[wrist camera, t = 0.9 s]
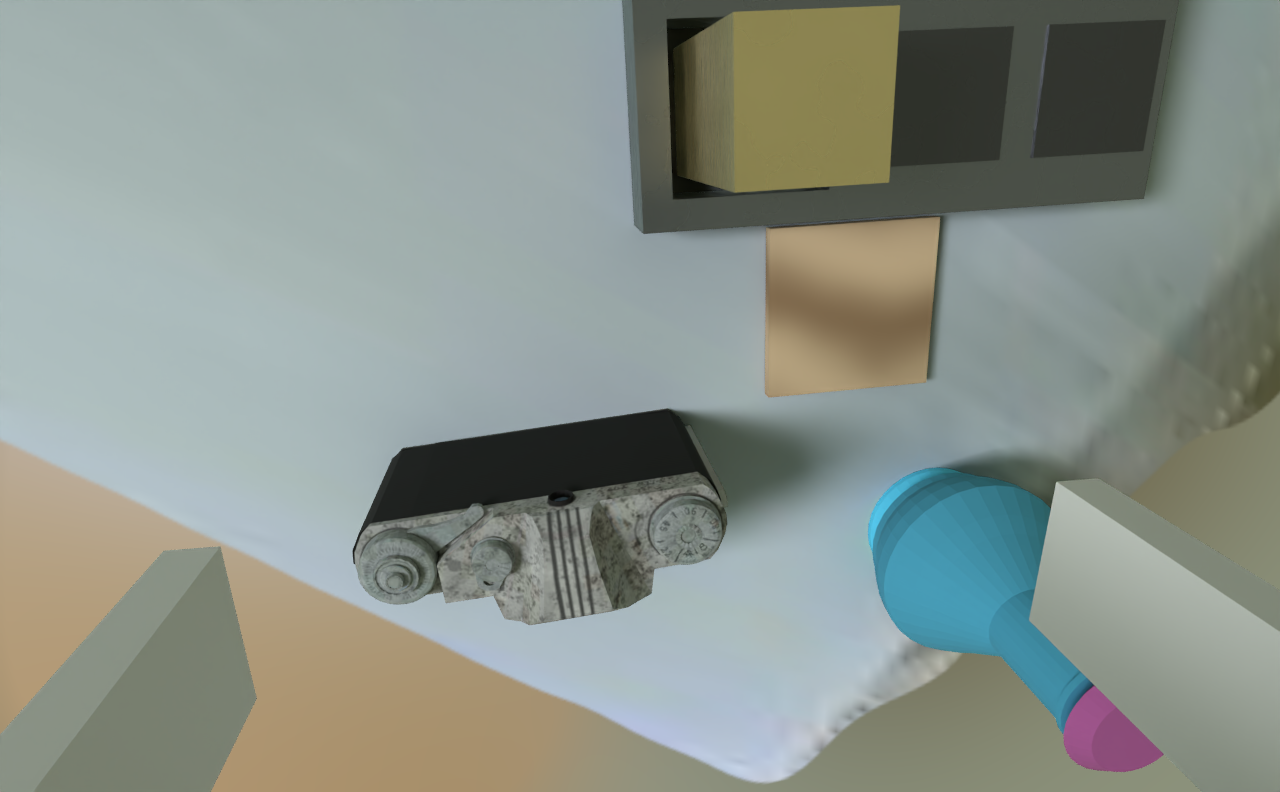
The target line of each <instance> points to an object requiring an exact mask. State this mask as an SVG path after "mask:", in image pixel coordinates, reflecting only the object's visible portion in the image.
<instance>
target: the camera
mask: <svg viewBox="0 0 1280 792" xmlns="http://www.w3.org/2000/svg"><path fill="white" fill-rule="evenodd" d="M724 507H728V503H727V496H726V494H725V491H724V488H723V486H722V484H721V483H720V481H719V479H718V477H717V475H716V473H715V471H714V469H713V467H712V466H711V464H710V462H709V460H708V458H707V456H706V454H705V452H704V450H703V448H702V447H701V445H700V443H699V441H698V439H697V437H696V435H695V433H694V431H693V430H692V428H691V426H690V425H688V426H685V425H684V424H683V422H682V421H681V419H680V418H679V416H677V415H675V414H674V413H673V412H672V411H670V410H669V409H660V410H653V411H647V412H640V413H633V414H627V415H620V416H613V417H606V418H600V419H593V420H586V421H580V422H573V423H566V424H560V425H553V426H546V427H539V428H533V429H526V430H519V431H513V432H506V433H500V434H493V435H487V436H481V437H475V438H468V439H462V440H455V441H449V442H442V443H435V444H427V445H420V446H413V447H406V448H402V449H401V451H400V452H399V453H398V454H397V455H396V456H395V457H394V458H392V461H391V463H390V465H389V467H388V470H387V472H386V474H385V476H384V479H383V481H382V483H381V485H380V488H379V490H378V492H377V494H376V497H375V499H374V501H373V503H372V506H371V508H370V510H369V512H368V515H367V517H366V519H365V521H364V523H363V526H362V528H361V530H360V532H359V535H358V538H357V540H356V543H355V546H354V548H353V562H354V564H355V565H356V569H357V572H358V578H359V580H360V583H361V585H362V586H363V588H364V589H365V591H366V592H368V593H369V594H370V595H371V596H372V597H374V598H375V599H377V600H379V601H382V602H385V603H389V604H407V603H411V602H414V601H416V600H419V599H421V598H422V597H423V596H425V595H427V594H433V593H440V592H443V594H444V598H445V602H446V603H451V602H457V601H464V600H470V599H477V598H484V597H489V596H494V598H495V600H496V602H497V604H498V606H499V608H500V610H501V612H502V614H503V616H504V618H505V619H508V620H515V621H522V622H524V623H526V624H528V625H534V624H540V623H547V622H552V621H558V620H564V619H570V618H575V617H581V616H587V615H593V614H599V613H604V612H610V611H615V610H618V609H622V608H626V607H629V606H631V605H632V604H634V603H636V602H637V601H639V600H641V599H643V598H644V597H646V596H648V595H649V594H651V593H652V585H653V576H654V569H656V568H661V567H667V566H672V565H678V564H680V565H689V564H695V563H698V562H700V561H703V560H706V559H710V558H711V557H712V556H713V555H714V553H715V552H716V551H717V550H718V548H719V546H720V544H721V542H722V539H723V537H724V535H725V531H726V526H727V516H726V512H725V510H724Z"/></svg>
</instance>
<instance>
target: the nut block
mask: <svg viewBox="0 0 1280 792" xmlns="http://www.w3.org/2000/svg"><path fill="white" fill-rule="evenodd" d="M899 16H900V5H896V6H870V7H844V8H818V9H792V10H766V11H741V12H732V13H731V14H729V15H727V16H726V17H724V18H722V19H721V20H719V21H718V22H716V23H714V24H713V25H711V26H710V27H708V28H706V29H705V30H703V31H701V32H700V33H698V34H697V35H695V36H693V37H692V38H690V39H689V40H687V41H685V42H684V43H682V44H680V45H679V46H677V47H676V48H674V49H673V65H674V96H675V126H676V157H677V175H678V176H681V177H685V178H688V179H691V180H694V181H698V182H701V183H704V184H708V185H711V186H714V187H718V188H721V189H724V190H728V191H731V192H734V193H737V192H752V191H767V190H783V189H798V188H813V187H829V186H844V185H859V184H875V183H889V176H890V160H891V144H892V128H893V112H894V96H895V80H896V64H897V48H898V32H899Z"/></svg>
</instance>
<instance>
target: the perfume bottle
mask: <svg viewBox="0 0 1280 792" xmlns="http://www.w3.org/2000/svg"><path fill="white" fill-rule="evenodd" d="M1050 511H1051V508H1050V507H1049V506H1048V505H1047V504H1046V503H1045V502H1044V501H1043V500H1042V499H1040V498H1038V497H1036V496H1035V495H1033V494H1031V493H1030V492H1028V491H1026V490H1024V489H1022V488H1021V487H1019V486H1017V485H1015V484H1012V483H1008V482H1005V481H1002V480H998V479H994V478H990V477H982V476H975V475H972V474H966V473H961V472H959V471H955V470H952V469H948V468H929V469H924V470H920V471H917V472H914V473H912V474H910V475H907V476H905V477H903V478H902V479H900V480H899V481H898V482H896V483H895V484H893V485H892V486H891V487H890V488H889V489H888V490H887V491H886V492H885V493H884V494H883V496H882V497H881V498H880V500H879V501H878V502H877V504H876V506H875V508H874V510H873V512H872V515H871V518H870V522H869V528H868V538H869V545H870V547H871V550H872V553H873V560H874V565H875V573H876V580H877V585H878V589H879V594H880V596H881V599H882V601H883V604H884V606H885V608H886V610H887V612H888V614H889V616H890V617H891V619H892V621H893V622H894V623H895V625H896V626H897V627H898V629H899V630H900V631H901V632H902V633H904V634H905V635H906V636H907V637H909V638H910V639H911V640H913V641H915V642H917V643H919V644H921V645H923V646H926V647H930V648H934V649H938V650H944V651H952V652H959V653H977V654H985V655H993V656H1001V657H1002V658H1003V659H1004V661H1005V662H1006V663H1007V664H1008V665H1009V666H1010V667H1011V668H1012V670H1013V671H1014V672H1015V673H1016V674H1017V675H1018V676H1019V677H1020V678H1021V680H1022V681H1023V682H1024V683H1025V684H1026V685H1027V686H1028V688H1029V689H1030V690H1031V691H1032V692H1033V693H1034V694H1035V695H1036V696H1037V698H1038V699H1039V700H1040V701H1041V702H1042V703H1043V704H1044V705H1045V707H1046V708H1047V709H1048V710H1049V711H1050V712H1051V713H1052V714H1053V716H1054V717H1055V718H1056V722H1057V725H1058V727H1059V729H1060V730H1061V732H1062V733H1063V734H1064V745H1065V748H1066V751H1067V753H1068V754H1069V756H1070V757H1071V759H1072V760H1074V761H1075V762H1076V763H1077V764H1078V765H1081V766H1083V767H1085V768H1088V769H1093V770H1100V771H1113V772H1126V771H1132V770H1136V769H1139V768H1142V767H1145V766H1147V765H1149V764H1151V763H1152V762H1154V761H1156V760H1157V759H1159V758H1160V757H1161V756H1162V755H1164V754H1163V753H1162V752H1161V751H1160V750H1159V749H1158V748H1157V747H1156V746H1155V745H1154V744H1153V743H1152V742H1151V741H1150V740H1149V739H1148V738H1147V737H1146V736H1145V735H1144V734H1143V733H1142V732H1141V731H1140V730H1139V729H1138V728H1137V727H1136V726H1135V725H1134V724H1133V723H1132V722H1131V721H1130V720H1129V719H1128V718H1127V717H1126V716H1125V715H1124V714H1123V713H1122V712H1121V711H1120V710H1119V709H1118V708H1117V707H1116V706H1115V705H1114V704H1113V703H1112V702H1111V701H1110V700H1109V699H1108V698H1107V697H1106V696H1105V695H1104V694H1103V693H1102V692H1101V691H1100V690H1099V689H1098V688H1097V687H1096V686H1095V685H1094V684H1093V683H1092V682H1091V681H1090V680H1089V679H1088V678H1087V677H1086V676H1085V675H1084V674H1083V673H1082V672H1081V671H1080V670H1078V669H1077V668H1076V667H1075V666H1074V665H1073V664H1072V663H1071V662H1070V661H1069V660H1068V659H1067V658H1066V657H1065V656H1064V655H1063V654H1062V653H1061V652H1060V651H1059V650H1058V649H1057V648H1056V647H1055V646H1054V645H1053V644H1052V643H1051V642H1050V641H1049V640H1048V639H1047V638H1046V637H1045V636H1044V635H1043V634H1042V633H1041V632H1040V631H1039V630H1038V629H1037V628H1036V627H1035V626H1034V625H1033V624H1032V623H1031V622H1030V621H1029V617H1030V612H1031V607H1032V602H1033V597H1034V592H1035V587H1036V582H1037V577H1038V572H1039V567H1040V562H1041V557H1042V552H1043V547H1044V542H1045V536H1046V531H1047V526H1048V521H1049V516H1050Z"/></svg>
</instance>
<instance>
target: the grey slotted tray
mask: <svg viewBox="0 0 1280 792" xmlns="http://www.w3.org/2000/svg"><path fill="white" fill-rule="evenodd" d="M1178 2H1179V0H622V5H623V23H624V42H625V61H626V79H627V98H628V117H629V136H630V154H631V173H632V192H633V210H634V225H635V226H636V227H637V228H638V229H639V230H640V231H641V232H642V233H643V234H648V233H662V232H676V231H691V230H705V229H719V228H733V227H747V226H762V225H776V224H790V223H804V222H818V221H833V220H847V219H861V218H875V217H890V216H904V215H918V214H932V213H946V212H961V211H975V210H989V209H1003V208H1017V207H1032V206H1046V205H1060V204H1074V203H1088V202H1103V201H1117V200H1131V199H1144V194H1145V188H1146V182H1147V177H1148V171H1149V166H1150V160H1151V154H1152V149H1153V143H1154V137H1155V132H1156V126H1157V120H1158V115H1159V109H1160V104H1161V98H1162V92H1163V87H1164V81H1165V75H1166V70H1167V64H1168V58H1169V53H1170V47H1171V42H1172V36H1173V30H1174V25H1175V19H1176V13H1177V8H1178ZM896 5H900V16H899V32H898V48H897V64H896V80H895V96H894V112H893V128H892V144H891V160H890V176H889V183H875V184H859V185H844V186H829V187H813V188H798V189H783V190H767V191H752V192H737V193H734V192H731V191H728V190H718V191H703V192H687V193H673V191H672V163H671V134H670V106H669V78H668V50H667V29H681V28H705V27H710V26H711V25H713V24H714V23H716V22H718V21H719V20H721V19H722V18H724V17H726V16H727V15H729V14H731V13H732V12H741V11H766V10H792V9H818V8H844V7H870V6H896Z"/></svg>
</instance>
